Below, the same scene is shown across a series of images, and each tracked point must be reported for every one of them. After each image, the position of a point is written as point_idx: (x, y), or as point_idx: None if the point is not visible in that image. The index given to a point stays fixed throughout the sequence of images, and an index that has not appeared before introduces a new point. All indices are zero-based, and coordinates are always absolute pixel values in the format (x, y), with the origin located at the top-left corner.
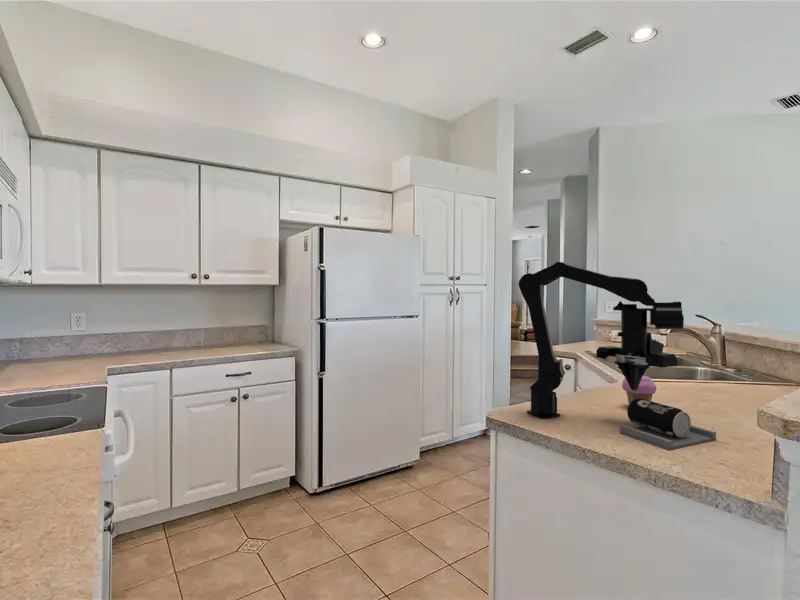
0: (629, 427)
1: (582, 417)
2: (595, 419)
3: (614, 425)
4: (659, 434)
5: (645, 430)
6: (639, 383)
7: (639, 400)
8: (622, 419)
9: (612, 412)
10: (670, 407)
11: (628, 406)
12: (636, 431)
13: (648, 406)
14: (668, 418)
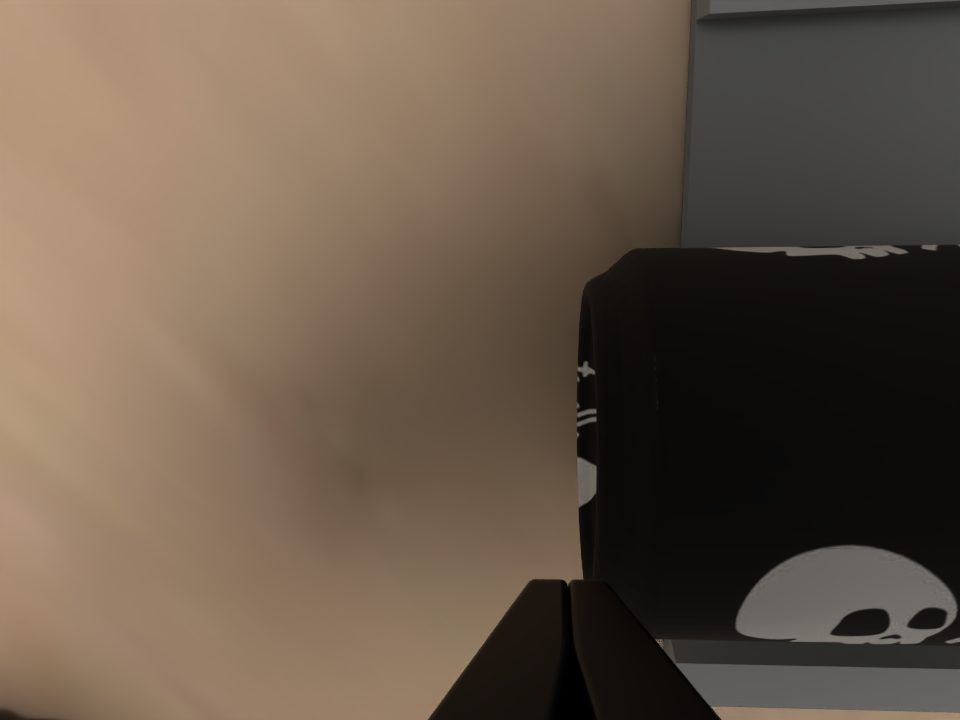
0: (758, 678)
1: (148, 578)
2: (240, 521)
3: (464, 513)
4: None
5: None
6: (679, 673)
7: (739, 597)
8: (321, 260)
9: (38, 119)
10: None
11: None
12: (865, 707)
13: (949, 640)
14: None
